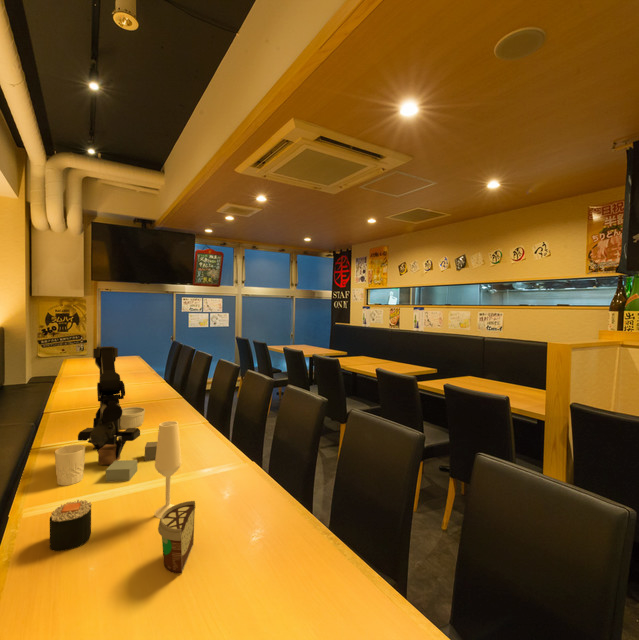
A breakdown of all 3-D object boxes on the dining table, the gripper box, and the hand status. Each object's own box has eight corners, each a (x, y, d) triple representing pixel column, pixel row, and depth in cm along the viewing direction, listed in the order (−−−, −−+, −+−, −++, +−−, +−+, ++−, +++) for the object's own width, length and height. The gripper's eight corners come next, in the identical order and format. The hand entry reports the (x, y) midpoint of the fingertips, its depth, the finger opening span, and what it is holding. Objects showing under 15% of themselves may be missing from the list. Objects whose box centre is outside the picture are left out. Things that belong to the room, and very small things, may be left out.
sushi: (45, 555, 82) (46, 519, 81) (55, 533, 89) (55, 501, 89) (88, 546, 85) (88, 512, 85) (94, 526, 93) (94, 495, 92)
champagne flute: (161, 504, 104) (162, 419, 103) (184, 505, 103) (186, 420, 103) (149, 518, 97) (150, 427, 96) (174, 519, 97) (175, 428, 96)
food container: (168, 541, 87) (168, 500, 87) (195, 540, 88) (195, 499, 88) (148, 580, 75) (149, 531, 75) (179, 578, 76) (180, 530, 75)
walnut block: (98, 464, 127) (98, 449, 127) (105, 458, 132) (106, 444, 132) (113, 464, 127) (113, 450, 127) (120, 458, 132) (120, 444, 132)
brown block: (144, 461, 132) (144, 447, 132) (146, 455, 137) (146, 442, 137) (159, 459, 133) (160, 446, 133) (161, 454, 138) (161, 441, 138)
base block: (105, 482, 116) (105, 469, 116) (115, 472, 123) (115, 460, 123) (129, 481, 117) (129, 469, 117) (137, 471, 124) (137, 460, 124)
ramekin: (116, 432, 160) (116, 416, 160) (109, 424, 170) (109, 409, 170) (148, 426, 169) (148, 411, 169) (140, 419, 179) (140, 405, 179)
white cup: (52, 488, 111) (52, 455, 110) (57, 477, 118) (57, 446, 117) (83, 483, 114) (83, 451, 114) (86, 473, 121) (86, 443, 121)
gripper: (67, 420, 120) (67, 468, 121) (126, 421, 121) (125, 468, 122) (87, 411, 131) (87, 454, 132) (141, 412, 132) (140, 455, 133)
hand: (109, 458), depth 129 cm, fingers closed on walnut block, 5 cm apart
